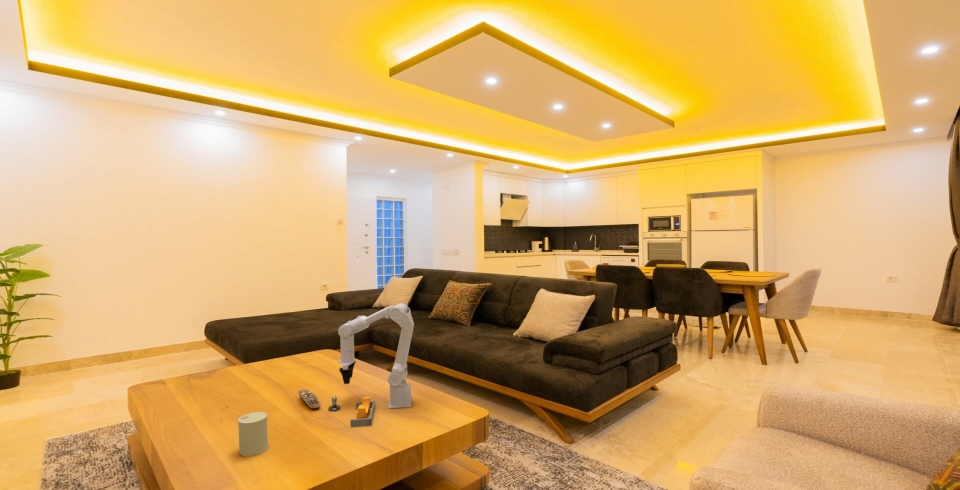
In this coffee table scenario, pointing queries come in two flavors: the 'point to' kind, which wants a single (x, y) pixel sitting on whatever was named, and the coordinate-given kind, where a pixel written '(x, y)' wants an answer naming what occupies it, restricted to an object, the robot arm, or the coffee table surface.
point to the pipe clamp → (364, 409)
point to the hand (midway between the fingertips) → (348, 380)
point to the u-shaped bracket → (367, 420)
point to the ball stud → (334, 405)
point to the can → (253, 434)
